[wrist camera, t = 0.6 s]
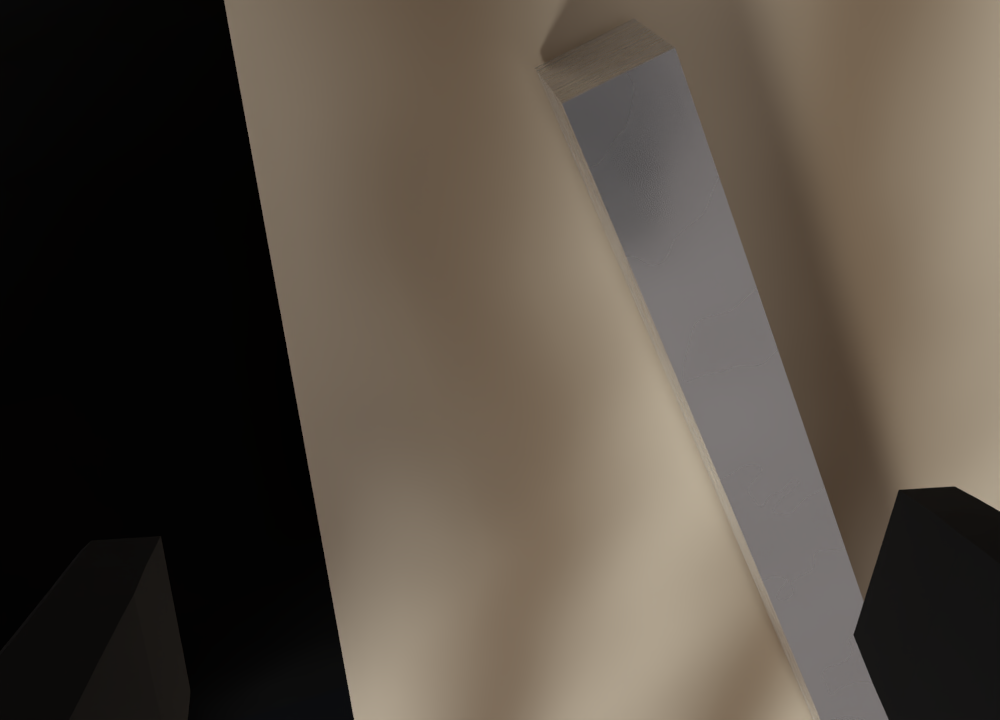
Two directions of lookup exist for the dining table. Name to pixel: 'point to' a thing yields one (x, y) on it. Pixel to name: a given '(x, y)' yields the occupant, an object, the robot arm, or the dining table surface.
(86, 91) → the dining table surface
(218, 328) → the dining table surface
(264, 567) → the dining table surface
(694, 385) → the bar
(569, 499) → the board
